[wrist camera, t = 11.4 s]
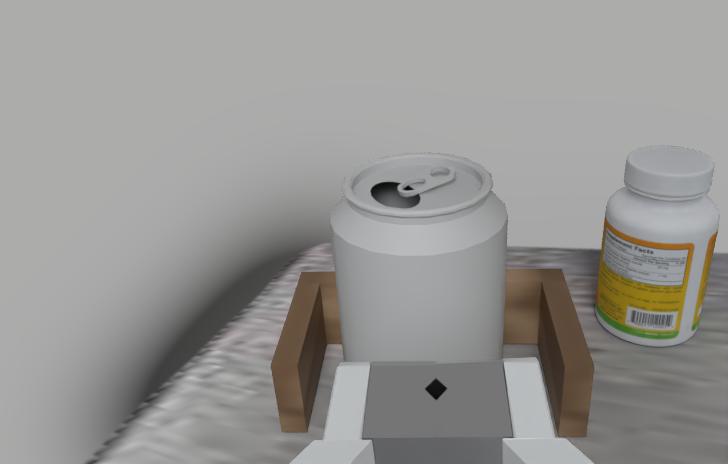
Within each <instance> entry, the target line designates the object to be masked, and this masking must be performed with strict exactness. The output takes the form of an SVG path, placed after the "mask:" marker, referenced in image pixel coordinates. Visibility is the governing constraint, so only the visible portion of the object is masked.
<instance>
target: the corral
mask: <svg viewBox="0 0 728 464" xmlns="http://www.w3.org/2000/svg"><path fill="white" fill-rule="evenodd" d="M327 344H342V335H341V326H340V316H339V306H338V296H337V287H336V277H335V272H301V275H300V279H299V282H298V285H297V288H296V291H295V294H294V297H293V300H292V303H291V306H290V309H289V312H288V315H287V318H286V321H285V324H284V327H283V330H282V333H281V336H280V339H279V342H278V345H277V348H276V351H275V354H274V357H273V360H272V363H271V370H272V376H273V381H274V387H275V393H276V399H277V405H278V411H279V417H280V423H281V429H282V432H307V430H308V425H309V421H310V416H311V412H312V407H313V403H314V398H315V394H316V390H317V385H318V381H319V376H320V372H321V367H322V363H323V358H324V354H325V350H326V345H327ZM503 344H538V348H539V352H540V357H541V361H542V366H543V370H544V374H545V379H546V383H547V387H548V392H549V396H550V401H551V405H552V409H553V414H554V418H555V422H556V427H557V431H558V436H573V437H586V432H587V424H588V415H589V407H590V398H591V390H592V382H593V373H594V365H593V362H592V359H591V356H590V353H589V350H588V347H587V344H586V341H585V338H584V335H583V332H582V329H581V326H580V323H579V320H578V317H577V314H576V311H575V308H574V305H573V302H572V299H571V296H570V293H569V290H568V287H567V284H566V281H565V278H564V275H563V272H562V269H518V270H506V277H505V304H504V331H503Z"/></svg>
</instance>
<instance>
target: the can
mask: <svg viewBox="0 0 728 464" xmlns="http://www.w3.org/2000/svg"><path fill="white" fill-rule="evenodd" d="M492 187H493V181H492V176H491V174H490V173H489V172H488V171H487V170H486V169H485V168H484V167H483V166H481V165H480V164H478V163H476V162H473V161H471V160H469V159H467V158H462V157H458V156H454V155H449V154H440V153H406V154H398V155H392V156H386V157H383V158H379V159H376V160H372V161H369V162H367V163H365V164H363V165H361V166H359V167H357V168H355V169H354V170H353V171H352V172H351V173H350V174H349V175H348V176H346V177H345V178H344V181H343V185H342V191H343V194H344V196H343V197H342V199H341V200H340V201H339V202H338V203H337V204H336V205H335V207H334V208H333V211H332V214H331V217H330V228H331V238H332V248H333V257H334V267H335V277H336V287H337V296H338V306H339V316H340V326H341V335H342V345H343V355H344V362H373V361H465V360H498V359H501V360H502V358H503V331H504V304H505V277H506V250H507V222H508V215H507V211H506V207H505V204H504V203H503V202H502V201H501V200H500V199H499V198H498V197H497V196H496V195H495V194H494V193H493V192H492V191H491V189H492Z"/></svg>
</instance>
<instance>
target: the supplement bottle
mask: <svg viewBox="0 0 728 464" xmlns="http://www.w3.org/2000/svg"><path fill="white" fill-rule="evenodd" d="M713 171H714V162H713V160H712V159H711V158H710V157H709V156H708V155H706V154H704V153H702V152H699V151H696V150H693V149H689V148H683V147H676V146H651V147H644V148H640V149H637V150H634V151H633V152H631V153H630V154H629V155H628V157H627V161H626V169H625V176H624V183H625V185H626V187H624V188H621V189H620V190H618V191H617V192H615V193H614V194H613V195H612V196H611V197H610V199H609V201H608V203H607V207H606V214H605V222H604V231H603V241H602V249H601V258H600V267H599V276H598V286H597V294H596V305H595V311H596V316H597V318H598V320H599V322H600V323H601V325H602V326H603V327H604V328H605V329H606V330H607V331H609V332H610V333H612V334H613V335H615V336H617V337H619V338H621V339H623V340H626V341H629V342H632V343H635V344H639V345H644V346H652V347H666V346H673V345H677V344H680V343H682V342H684V341H686V340H688V339H689V338H691V337H692V336H693V335H694V333H695V332H696V330H697V328H698V324H699V320H700V316H701V311H702V306H703V300H704V295H705V290H706V285H707V280H708V275H709V270H710V265H711V261H712V255H713V251H714V246H715V241H716V237H717V233H718V232H717V231H718V225H719V211H718V208H717V206H716V204H715V203H714V202H713V201H712V200H711V199H710V198H709V197H708V196H706V194H707V193H708V192H709V190H710V187H711V185H712V177H713Z"/></svg>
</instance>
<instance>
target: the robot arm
mask: <svg viewBox="0 0 728 464" xmlns="http://www.w3.org/2000/svg"><path fill="white" fill-rule="evenodd" d="M289 464H595V463H594V462H593V461H591V460H590V459H589V458H588V457H587V456H586V455H585V454H584V453H582V452H581V451H580V450H579V449H578V448H577V447H576V446H575V445H574V444H572V443H571V442H570V441H569V440H568V439H567V438H556V437H555V433H554V428H553V424H552V419H551V415H550V410H549V405H548V401H547V396H546V392H545V387H544V383H543V378H542V373H541V369H540V364H539V361H538V360H537V358H536V357H525V358H503V359H502V360H501V359H498V360H465V361H373V362H340V363H339V365H338V367H337V368H336V373H335V378H334V383H333V389H332V394H331V399H330V404H329V409H328V415H327V420H326V425H325V430H324V435H323V440H313V441H312V442H311V443H310V444H309V445H308V446H307V447H305V448H304V449H303V450H302V451H301V452H300V453H299V454H298V455H297V456H296V457H295V458H294V459H293V460H292V461H291V462H290V463H289Z"/></svg>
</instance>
